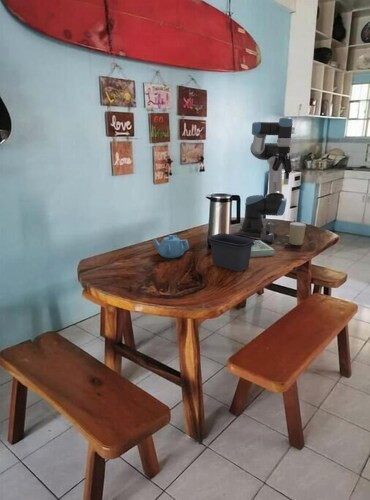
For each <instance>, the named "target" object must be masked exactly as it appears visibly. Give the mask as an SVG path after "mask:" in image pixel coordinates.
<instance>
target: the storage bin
mask: <svg viewBox="0 0 370 500" xmlns="http://www.w3.org/2000/svg"><path fill="white" fill-rule="evenodd" d="M254 241H255V239H254V238H249V237H243V236H239V235H235V234H231V233H223V232H221V233H216V234H213V235H209V236H208V242H209V243H210V245H211V246H210V247H211V248H210V249H211V250H210V251H211V260H212V261H211V264H212V265H213V266H216V267H219V268H225V269H227V270H228V269H229V270H231V271H235V272H242V271H245V270H247V269H248V268H249V267H250V260H251V257H250V254H251V248H252V246H253V245H254Z"/></svg>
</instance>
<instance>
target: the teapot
mask: <svg viewBox="0 0 370 500" xmlns="http://www.w3.org/2000/svg"><path fill="white" fill-rule="evenodd" d="M152 241H153V244H154V247H155V248H156V251H157V252H158V254H159V255H160V256H161V257H162V258H167V259H177V258H180V257H182V256H183V254H184V253H186V251H187V250H189V249H190V245H189V242H188V239H180V238H179V237H177V234H174V235H173V234H170V235H168V236H166V237H163V238H162V240H161V242H158V240H157V238H152ZM183 243H184V244H183Z"/></svg>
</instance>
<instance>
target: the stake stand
mask: <svg viewBox="0 0 370 500" xmlns="http://www.w3.org/2000/svg"><path fill="white" fill-rule="evenodd" d="M271 228H272V224H271V223H270V222H268V223H266V224H265V231H262V232H260V240H261V241H262V242H264V243H265V244H267V245H268V244H269V245H272V244H274V243H275V242H274V241H275V233H273V232H271Z"/></svg>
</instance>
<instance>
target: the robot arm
mask: <svg viewBox="0 0 370 500" xmlns="http://www.w3.org/2000/svg"><path fill="white" fill-rule="evenodd" d="M293 121H294V120H293V118H292V117H280V118H279V119H278V121H269V122H268V121H254V122H253V123H252V125H251V134H252V135H253V140H252V143H251V144H250V153H251V154H252V155H253V157H254V158H256V159H258V160H261V161H266V163H267V165H268V167H269V168H268V194H266V197H265V196H264V195H262V194H255V195H248V196H247V197H246V198H245V203H244V205H245V207H244V218H243V221H242V224H241V228H240V229H241V230H242V231H243V232H249V233H263V232H265V231H264V229H265V226H264V223H263V216H276V217H278V216H279V217H280V216H281V217H282V216H283V215H284V214H285V211H286V206H287V198H286V197H285V195H284V194H283V192H282V191H283V187H282V186H283V185H285V186H286V185H289V181H290V173H292V171H293V170H292V169H293V168H292V164H291V155H290V152H291V147H290V146H291V143H292V131H293V126H294V125H293V124H294V123H293ZM267 136H277V140H276V142H266V138H267ZM283 169H284V172H283ZM283 173H284V174H283Z"/></svg>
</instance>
